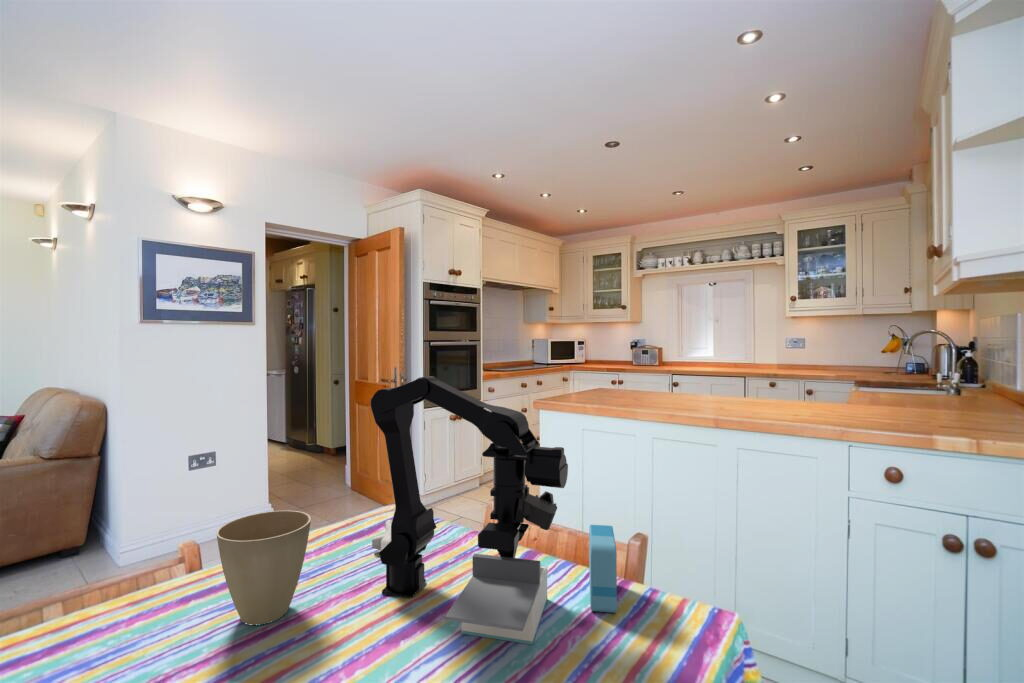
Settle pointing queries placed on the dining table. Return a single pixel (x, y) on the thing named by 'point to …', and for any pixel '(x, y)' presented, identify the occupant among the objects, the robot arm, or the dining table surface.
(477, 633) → the box
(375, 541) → the bunny figurine
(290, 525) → the plant pot
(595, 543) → the data package
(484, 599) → the lid
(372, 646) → the dining table surface
